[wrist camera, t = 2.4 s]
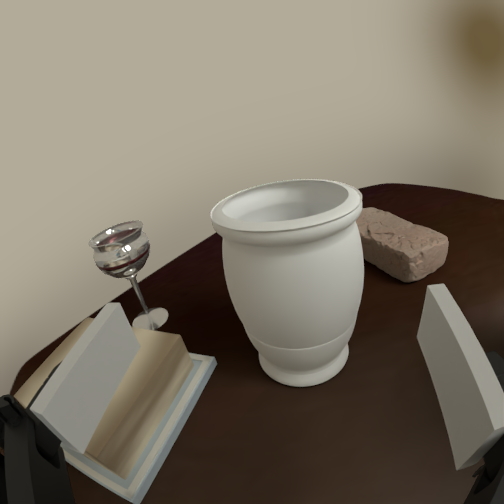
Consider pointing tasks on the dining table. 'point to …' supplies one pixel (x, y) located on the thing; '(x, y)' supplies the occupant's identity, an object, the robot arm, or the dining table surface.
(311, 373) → the jar
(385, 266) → the brick
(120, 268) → the wineglass
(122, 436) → the plinth
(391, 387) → the dining table surface
